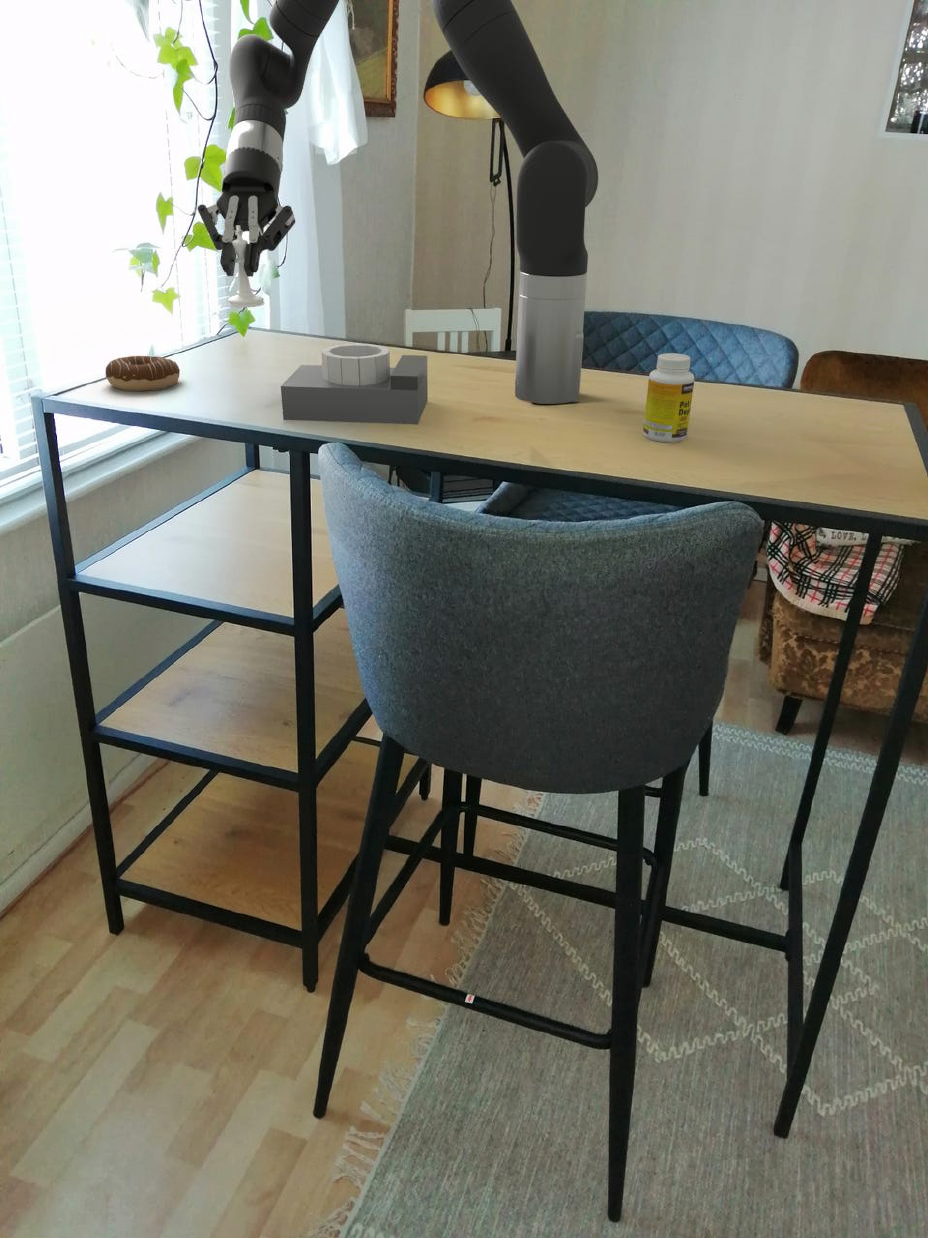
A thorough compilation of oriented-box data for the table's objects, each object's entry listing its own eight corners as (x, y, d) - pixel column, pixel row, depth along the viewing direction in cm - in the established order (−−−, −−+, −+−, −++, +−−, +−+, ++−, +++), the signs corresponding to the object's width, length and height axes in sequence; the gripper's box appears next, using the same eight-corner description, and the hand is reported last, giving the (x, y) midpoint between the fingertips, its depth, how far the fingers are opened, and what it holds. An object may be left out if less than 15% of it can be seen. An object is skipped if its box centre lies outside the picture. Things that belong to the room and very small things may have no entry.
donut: (95, 393, 135) (90, 365, 133) (123, 376, 144) (119, 349, 142) (167, 395, 134) (163, 367, 132) (191, 378, 143) (188, 351, 141)
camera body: (427, 400, 133) (427, 343, 129) (417, 424, 122) (417, 363, 119) (303, 396, 134) (299, 339, 130) (283, 419, 123) (278, 358, 120)
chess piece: (268, 301, 129) (261, 223, 125) (258, 307, 125) (250, 227, 120) (234, 300, 130) (226, 223, 125) (223, 306, 126) (213, 227, 121)
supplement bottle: (679, 446, 115) (689, 363, 111) (636, 439, 118) (645, 357, 113) (692, 435, 120) (702, 354, 115) (650, 428, 122) (659, 349, 117)
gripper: (196, 144, 125) (177, 253, 120) (297, 145, 124) (282, 254, 120) (213, 185, 133) (196, 289, 128) (308, 186, 132) (295, 290, 127)
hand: (238, 271), depth 124 cm, fingers closed on chess piece
